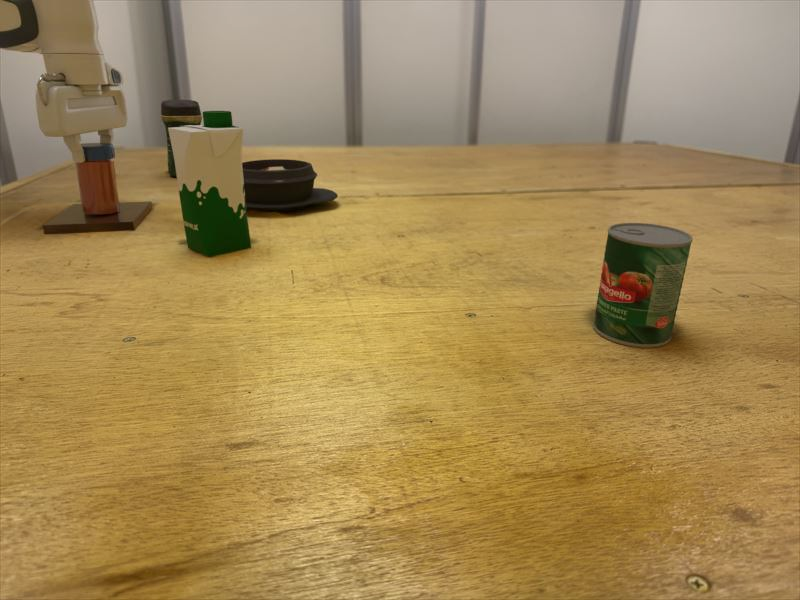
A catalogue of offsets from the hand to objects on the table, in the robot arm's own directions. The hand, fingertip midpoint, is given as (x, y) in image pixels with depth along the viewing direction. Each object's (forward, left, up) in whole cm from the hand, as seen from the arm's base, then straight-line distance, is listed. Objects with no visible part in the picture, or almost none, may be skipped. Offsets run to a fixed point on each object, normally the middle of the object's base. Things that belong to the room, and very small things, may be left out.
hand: (94, 158), depth 97 cm
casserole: (+31, +5, -11) cm, 33 cm away
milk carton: (+22, -22, -11) cm, 33 cm away
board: (0, -1, -11) cm, 11 cm away
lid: (0, 0, +2) cm, 2 cm away
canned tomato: (+68, -61, -11) cm, 92 cm away
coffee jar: (+9, +45, -11) cm, 48 cm away
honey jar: (0, -1, -9) cm, 9 cm away
